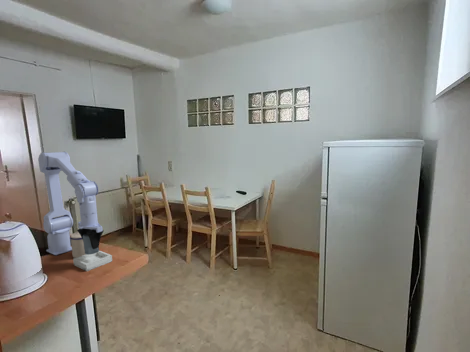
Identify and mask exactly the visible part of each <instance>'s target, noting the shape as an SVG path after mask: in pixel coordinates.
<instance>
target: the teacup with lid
mask: <svg viewBox="0 0 470 352" xmlns="http://www.w3.org/2000/svg"><path fill="white" fill-rule="evenodd" d="M70 244H71V247H72V250H71V251H72V252H71V253H72V257H73V259H74V258H77V257H80V256H83V255H86V254H85V251H84V243H83V239H82V237H81V235H80V234H79V232H78V231H77V230H76V232H73V233H71V234H70Z"/></svg>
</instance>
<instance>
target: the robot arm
mask: <svg viewBox="0 0 470 352" xmlns="http://www.w3.org/2000/svg"><path fill="white" fill-rule="evenodd" d="M37 159H38V166H39V170H40V172H41V173H43V174H44V179H45V186H46V191H47V197H48V198H47V199H48V204H49V211H48V212H47V213H46V214H45V215H43V230H44V231H45V232H46V233H47V238H46V239H47V245H48V248H47V249H46V250H45V251H46V252H47V253H49V254H51V255H54V256H58V255H62V254H64V253H67V252H71V251H72V244H71V239H70V236H71V234H70V231H71V230H72V229H71V228H72V227H73V225H74V219H73V217H72V214H71V211H69V210H67V209H65V207H64V202H63V194H62V188H61V180H60V175H59V174H60V173H61V172H63V173H64V175H66V181H67V182H68V183H69V184H70V186H72V188H73V189H74V194H75V196H76V201H77V203H78V205H79V206H78V207H79V216H80V221H78V222H77V224H78V225H77V226H78V227H77V230H76V232H77V231H78V232H79V234H80V235H81V237H82V239H83V235H85V234H87V235H88V236H89V238H90V241H91V246H92V249H96V248H99V249H100V241H101V237H102V235H103V233H104V229H103V228H104V227H103V226H102V225H101V224H100V223H99V221H98V220H99V219H98V209H97V208H98V207H97V197H96V196H97V195H99V186H98V183H96V181H94V180H89V179H88V178H87V177H86V176H85V174H83V172H82V171H80V170H76V168H75V167H74V165H73V164H72V162H71V157H70V154H69V153H68V151H56V152H55V151H54V152H53V151H51V152H40V154H39V155H38V158H37ZM40 172H39V173H40Z"/></svg>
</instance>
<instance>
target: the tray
mask: <svg viewBox="0 0 470 352" xmlns="http://www.w3.org/2000/svg"><path fill="white" fill-rule="evenodd" d="M72 260H73V266H75V267H77V268H79V269H81V270H83V271H84V272H89V271H91V270H94V269H96V268H99V267H101V266H104V265H106V264H109V263H111V262H113V255H112V254H110V253H107V252H104V251H102V250H99V251H98V252H97V253H94V254H89V255H87V254H86V255H83V256H80V257H77V258H74V257H73V258H72Z"/></svg>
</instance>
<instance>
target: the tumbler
mask: <svg viewBox="0 0 470 352" xmlns="http://www.w3.org/2000/svg"><path fill="white" fill-rule="evenodd" d="M83 243H84V251H85V254H87V255H89V254H94V253H97V252H98V251H100V247H99V248H96V249H92V246H91V241H90V238H89V236H88V235H87V234H85V235H83Z"/></svg>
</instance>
